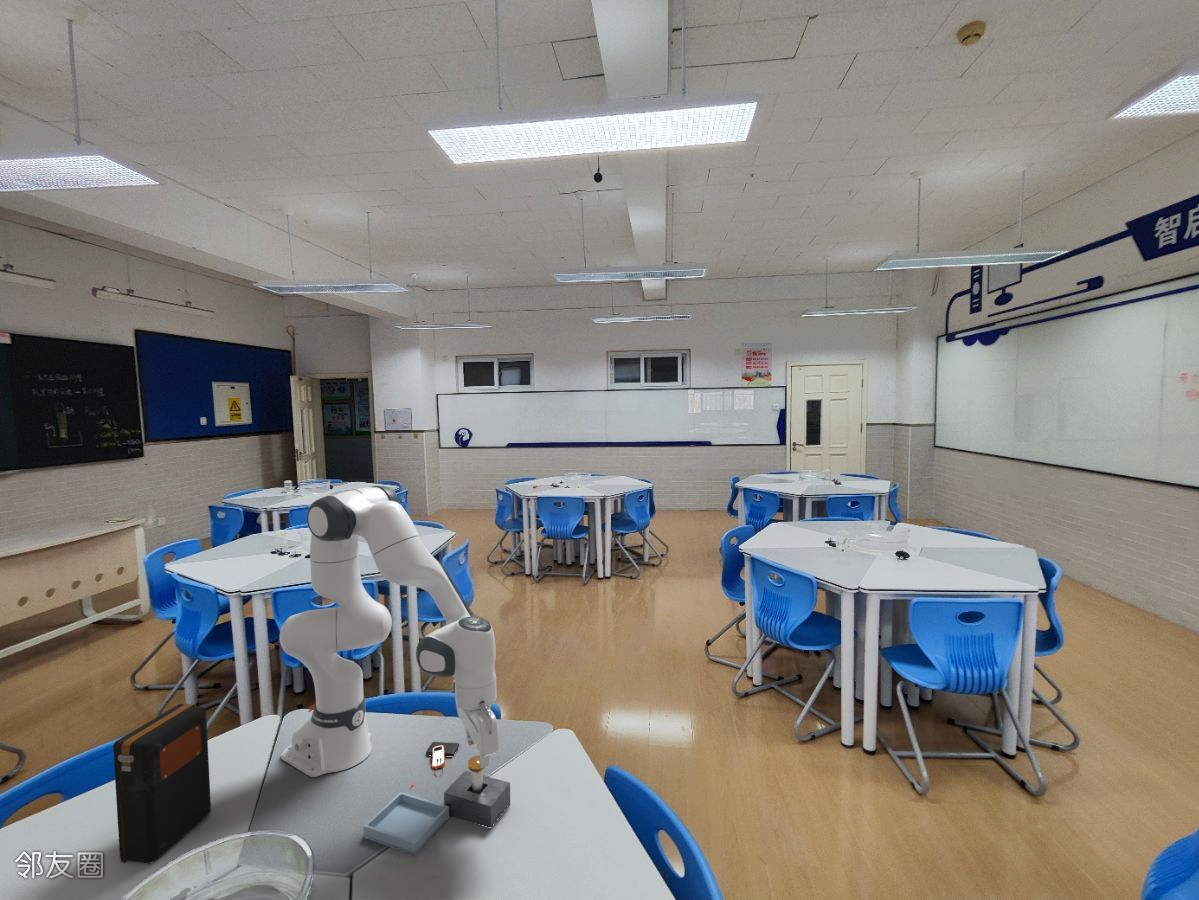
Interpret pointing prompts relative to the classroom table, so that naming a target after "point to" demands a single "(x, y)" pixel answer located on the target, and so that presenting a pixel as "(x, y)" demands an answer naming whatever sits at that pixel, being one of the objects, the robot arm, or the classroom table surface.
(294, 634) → the robot arm
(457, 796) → the block
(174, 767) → the black case
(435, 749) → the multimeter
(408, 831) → the tray
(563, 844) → the classroom table surface
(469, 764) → the pin
